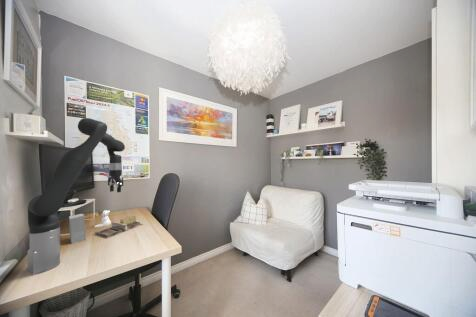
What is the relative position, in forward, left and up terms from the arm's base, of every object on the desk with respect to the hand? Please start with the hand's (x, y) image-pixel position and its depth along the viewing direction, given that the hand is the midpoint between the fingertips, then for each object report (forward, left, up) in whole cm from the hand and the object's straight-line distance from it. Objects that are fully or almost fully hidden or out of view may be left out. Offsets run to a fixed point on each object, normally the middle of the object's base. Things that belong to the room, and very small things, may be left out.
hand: (115, 191), depth 121 cm
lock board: (-1, -6, -26) cm, 27 cm away
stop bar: (+5, -6, -25) cm, 27 cm away
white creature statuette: (0, +13, -27) cm, 30 cm away
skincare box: (-21, +1, -27) cm, 34 cm away
